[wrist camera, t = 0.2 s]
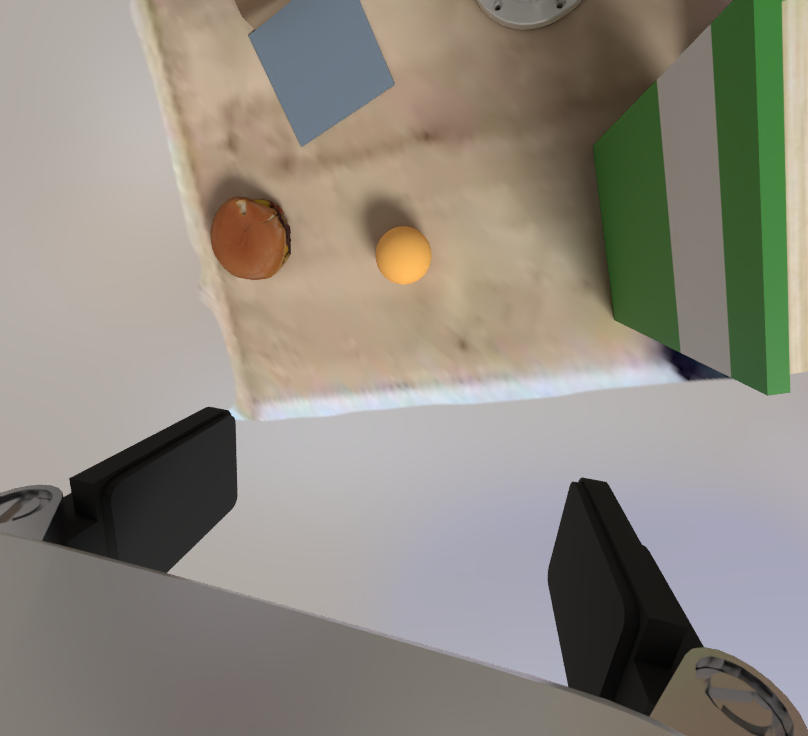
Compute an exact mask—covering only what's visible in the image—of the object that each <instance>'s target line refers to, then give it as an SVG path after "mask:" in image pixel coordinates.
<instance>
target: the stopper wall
mask: <svg viewBox="0 0 808 736" xmlns="http://www.w3.org/2000/svg"><path fill="white" fill-rule="evenodd" d="M290 1H292V0H235V2H236V4H237V6H238V8H239V10H240V13H241V15H242V17H243V18H244V19H245V20H246V21H247V22H248V23H249V24H250V25H251V26H252V27H253V28H254V29H255V30H256V29H257V28H259V27H260V26H261V25H262V24H263V23H265V22H266V21H267V20H268V19H270V18H271V17H272V16H273V15H274V14H276V13H277V12H278V11H279V10H281V9H282V8H283V7H284V6H285V5H287V4H288V3H289V2H290Z"/></svg>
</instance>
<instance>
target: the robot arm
mask: <svg viewBox="0 0 808 736" xmlns="http://www.w3.org/2000/svg"><path fill="white" fill-rule="evenodd" d="M581 1H582V0H476V2H477V3H478V5H479V7H480V8H481V9H482V10H483V11H484V13H485V14H486V15H487V16H488V17H489V18H491V19H492V20H494V21H495V22H497V23H498V24H500V25H503V26H506V27H509V28H511V29H520V30H528V29H536V28H540V27H543V26H546V25H549V24H552V23H554V22H555V21H557V20H559V19H561V18H562V17H564V16H566V15H567V14H568V13H569V12H570V11H572V10H573V9H574V8H575V7H577V6H578V5H579V4H580V2H581ZM557 6H561V7H562V8H561V9H558V8H557ZM496 8H500V10H498V11H496ZM235 426H236V424H235V419H234V417H233V416H231V413H230V412H229V411H228V410H224V409H218V408H213V407H206V408H204V409H202V410H200V411H198V412H196V413H194V414H192V415H191V416H189V417H187V418H185V419H183V420H181V421H179V422H177V423H175V424H173V425H171V426H170V427H167V428H166V429H164V430H162V431H160V432H158V433H156V434H154V435H152V436H150V437H148V438H146V439H144V440H142V441H141V442H139V443H137V444H135V445H133V446H131V447H129V448H127V449H125V450H123V451H121V452H119V453H117V454H116V455H114V456H112V457H110V458H108V459H106V460H104V461H102V462H100V463H98V464H96V465H94V466H92V467H91V468H89V469H87V470H85V471H83V472H81V473H79V474H77V475H75V476H74V477H71V478H69V479H70V486H71V492H72V493H70V494H69V495H67V496H65V497H63V493H62V491H61V490H60V489H59V488H57V487H54V486H51V485H33V486H25V487H20V488H15V489H11V490H9V491H5V492H2V493H0V736H808V730H807V727H806V725H805V723H804V721H803V719H802V717H801V715H800V713H799V712H798V711H797V709H796V708H795V707H794V706H793V704H792V703H791V701H790V700H789V699H788V698H787V696H786V695H785V694H783V692H782V691H781V690H780V689H779V688H777V687H776V686H775V685H774V684H773V683H772V682H771V681H770V680H769V679H768V678H766V677H765V676H763V675H762V674H761V673H759V672H758V671H757V670H756V669H755V668H753V667H752V666H750V665H748V664H747V663H745V662H743V661H741V660H740V659H738V658H736V657H734V656H732V655H729V654H727V653H725V652H722V651H720V650H716V649H711V648H706V647H704V646H703V645H702V643H701V641H700V640H699V638H698V636H697V634H696V632H695V631H694V629H693V627H692V625H691V624H690V622H689V620H688V619H687V617H686V615H685V613H684V611H683V610H682V608H681V606H680V604H679V603H678V601H677V599H676V597H675V596H674V594H673V592H672V590H671V589H670V587H669V585H668V583H667V582H666V580H665V578H664V576H663V574H662V573H661V571H660V569H659V567H658V566H657V564H656V562H655V560H654V559H653V557H652V555H651V554H650V552H649V550H648V549H647V548H646V547H645V546H643V545H642V544H641V542H640V541H639V539H638V537H637V535H636V533H635V531H634V530H633V528H632V526H631V524H630V522H629V521H628V519H627V517H626V515H625V513H624V512H623V510H622V508H621V506H620V504H619V503H618V501H617V499H616V497H615V496H614V494H613V492H612V490H611V488H610V487H609V485H608V484H607V482H603V481H598V480H592V479H587V478H581V479H580V480H579V482H572V483H571V485H570V487H569V491H568V495H567V499H566V503H565V506H564V510H563V514H562V518H561V522H560V526H559V530H558V533H557V538H556V541H555V545H554V549H553V553H552V557H551V560H550V564H549V569H548V585H549V590H550V595H551V600H552V606H553V611H554V616H555V621H556V626H557V631H558V636H559V641H560V646H561V652H562V656H563V662H564V666H565V672H566V677H567V682H568V687H567V686H564V685H560V684H557V683H554V682H551V681H548V680H545V679H542V678H539V677H536V676H532V675H529V674H526V673H522V672H518V671H515V670H511V669H508V668H504V667H501V666H497V665H494V664H490V663H487V662H484V661H480V660H477V659H473V658H470V657H467V656H463V655H459V654H456V653H453V652H449V651H445V650H442V649H438V648H435V647H431V646H428V645H424V644H421V643H417V642H414V641H410V640H406V639H403V638H399V637H396V636H392V635H389V634H385V633H382V632H378V631H374V630H371V629H368V628H364V627H360V626H357V625H353V624H350V623H346V622H343V621H339V620H336V619H332V618H328V617H325V616H321V615H317V614H314V613H310V612H306V611H303V610H299V609H296V608H292V607H289V606H285V605H281V604H277V603H274V602H270V601H267V600H263V599H259V598H255V597H252V596H249V595H244V594H241V593H238V592H234V591H230V590H227V589H223V588H219V587H216V586H212V585H208V584H204V583H201V582H197V581H193V580H190V579H186V578H182V577H179V576H175V575H171V574H167V572H168V571H169V570H170V569H171V568H172V567H173V566H174V565H175V564H176V563H177V562H178V561H179V560H180V559H181V558H182V557H183V556H184V555H185V554H186V553H188V551H190V550H191V549H192V548H193V547H194V546H195V545H196V544H197V543H198V542H199V541H200V540H201V539H202V538H203V537H204V536H205V535H206V534H207V533H208V532H209V531H210V530H211V529H212V528H213V527H214V526H215V525H216V524H217V523H218V522H219V521H220V520H221V519H222V518H223V517H224V516H225V515H226V514H227V513H228V512H230V511H231V510H232V508H233V507H234V505H235V503H236V500H237V464H236V427H235Z"/></svg>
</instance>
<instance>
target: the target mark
mask: <svg viewBox="0 0 808 736" xmlns="http://www.w3.org/2000/svg"><path fill="white" fill-rule="evenodd" d="M249 38H250V40H251V42H252V44H253V46H254V48H255V51H256V53H257V55H258V57H259V59H260V61H261V63H262V65H263V67H264V70H265V72H266V74H267V76H268V78H269V80H270V82H271V84H272V86H273V88H274V91H275V93H276V95H277V97H278V99H279V101H280V103H281V105H282V107H283V109H284V112H285V114H286V116H287V118H288V120H289V122H290V124H291V126H292V128H293V130H294V133H295V135H296V137H297V139H298V141H299V143H300V145H301V147H302V146H304V145H305V144H307V143H308V142H310V141H311V140H313V139H314V138H316V137H317V136H319V135H320V134H322V133H323V132H325V131H326V130H328V129H329V128H331V127H332V126H334V125H335V124H337V123H338V122H340V121H341V120H343V119H344V118H346V117H347V116H349V115H350V114H352V113H353V112H355V111H356V110H358V109H359V108H361V107H362V106H364V105H365V104H367V103H368V102H370V101H371V100H373V99H374V98H376V97H377V96H379V95H380V94H382V93H383V92H385V91H386V90H388V89H389V88H391V87H392V86H394V85H395V84H394V81H393V79H392V77H391V74H390V72H389V70H388V67H387V65H386V62H385V60H384V58H383V55H382V53H381V51H380V48H379V46H378V43H377V41H376V39H375V36H374V34H373V32H372V29H371V27H370V24H369V22H368V20H367V17H366V15H365V13H364V10H363V8H362V6H361V3H360V1H359V0H292V1H290V2H289V3H288V4H287V5H285V6H284V7H283V8H282V9H281V10H279V11H278V12H277V13H276V14H274V15H273V16H272V17H271V18H270V19H268V20H267V21H266V22H265V23H263V24H262V25H261V26H260V27H259V28H257V29H256V30H255V31H254V32H252V33H251V34H250V35H249Z"/></svg>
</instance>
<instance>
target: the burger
mask: <svg viewBox="0 0 808 736" xmlns="http://www.w3.org/2000/svg"><path fill="white" fill-rule="evenodd" d="M283 215H284V212H283V210H282V209H281V208H280V207H279V206H278V205H275V204H274V203H273V202H271V201H268V200H265V199H254V200H252V199H249V198H244V197H233V198H231V199H229V200H228V201H226V202H225V203H224V204H223V205H222V206H221V207H220V208H219V210H218V211H217V213H216V214H215V217H214V219H213V223H212V228H211V243H212V249H213V251H214V254H215V256H216V258H217V259H218V261H219V262H220V264H221V265H222V266H223V267H224V268H225V269H226V270H227V271H228V272H229V273H231V274H232V275H234V276H236V277H239V278H245V279H251V280H258V279H266V278H270V277H272V276H273V275H275V274H276V273H277V272H278V271H279V270H280V269H281V268H282V266H283V265H284V264H285V262H286V261H287V259H288V257H289V256H290V254H291V244H290V241H291V239H290V233H291V232H290V226H289V225H288V224H287V221H286V219H285V218H284V216H283Z"/></svg>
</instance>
